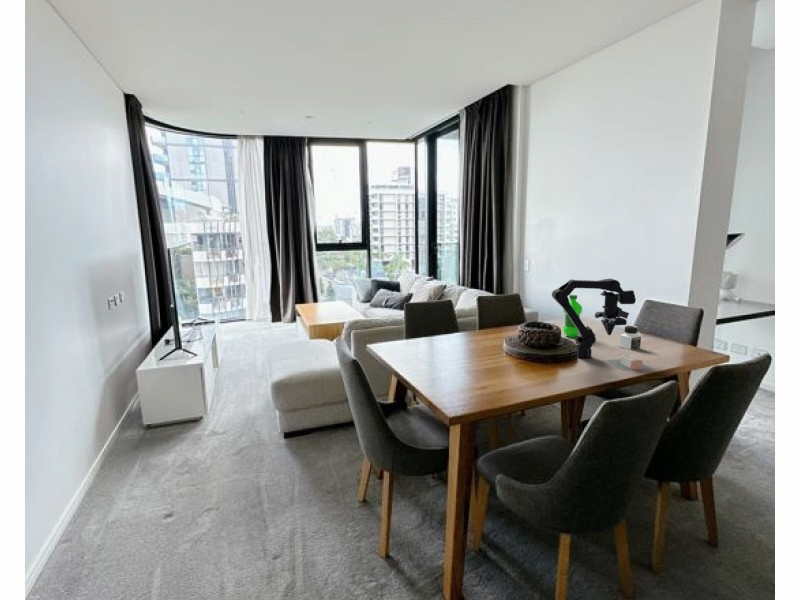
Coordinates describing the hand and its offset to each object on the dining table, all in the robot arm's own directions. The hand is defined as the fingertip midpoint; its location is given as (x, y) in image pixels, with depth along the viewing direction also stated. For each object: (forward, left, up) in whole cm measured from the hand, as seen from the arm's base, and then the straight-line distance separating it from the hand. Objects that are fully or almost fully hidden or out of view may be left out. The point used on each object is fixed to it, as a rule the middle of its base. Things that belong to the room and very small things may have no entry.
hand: (609, 334), depth 205 cm
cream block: (+3, -10, -9) cm, 14 cm away
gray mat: (+3, -12, -12) cm, 17 cm away
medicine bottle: (+20, +14, -12) cm, 27 cm away
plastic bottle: (+1, +42, -12) cm, 44 cm away
